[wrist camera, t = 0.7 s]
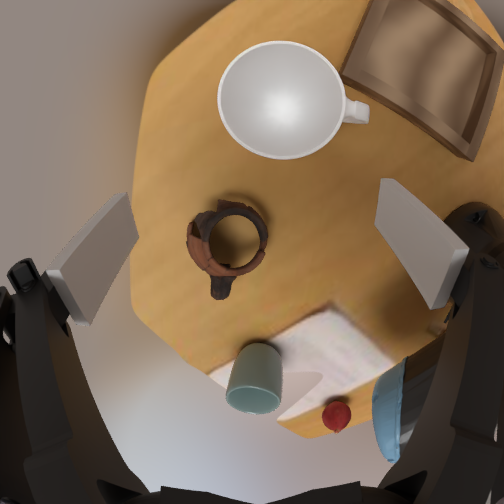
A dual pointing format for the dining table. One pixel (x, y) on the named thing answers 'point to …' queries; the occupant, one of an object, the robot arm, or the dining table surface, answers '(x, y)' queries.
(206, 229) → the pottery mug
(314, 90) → the mug
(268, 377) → the cup
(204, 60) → the dining table surface
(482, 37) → the tray
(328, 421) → the onion
